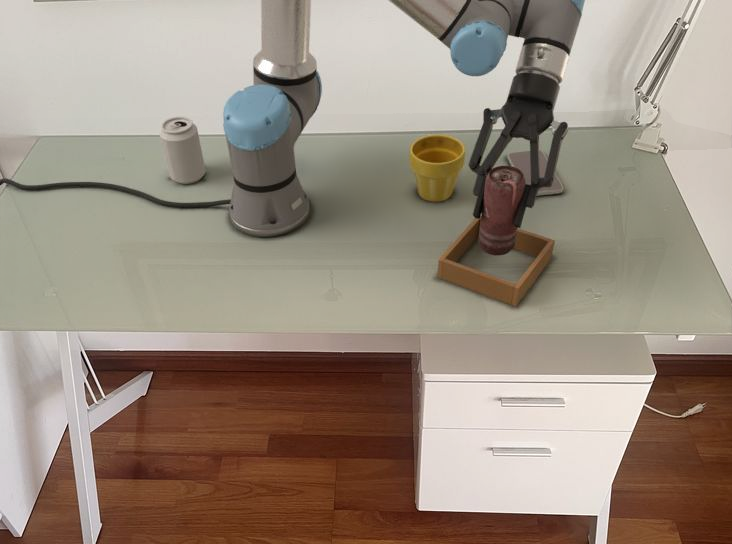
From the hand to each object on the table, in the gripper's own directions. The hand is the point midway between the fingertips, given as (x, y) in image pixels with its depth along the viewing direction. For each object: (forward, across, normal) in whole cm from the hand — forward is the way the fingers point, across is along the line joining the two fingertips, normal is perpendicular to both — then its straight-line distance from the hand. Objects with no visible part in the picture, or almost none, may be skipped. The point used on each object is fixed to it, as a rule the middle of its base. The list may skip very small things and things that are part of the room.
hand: (496, 221), depth 122 cm
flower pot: (-6, -17, +23) cm, 29 cm away
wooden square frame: (+6, 0, +10) cm, 12 cm away
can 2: (+3, 0, +7) cm, 8 cm away
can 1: (+3, -67, +14) cm, 68 cm away
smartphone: (-15, -1, +32) cm, 35 cm away
